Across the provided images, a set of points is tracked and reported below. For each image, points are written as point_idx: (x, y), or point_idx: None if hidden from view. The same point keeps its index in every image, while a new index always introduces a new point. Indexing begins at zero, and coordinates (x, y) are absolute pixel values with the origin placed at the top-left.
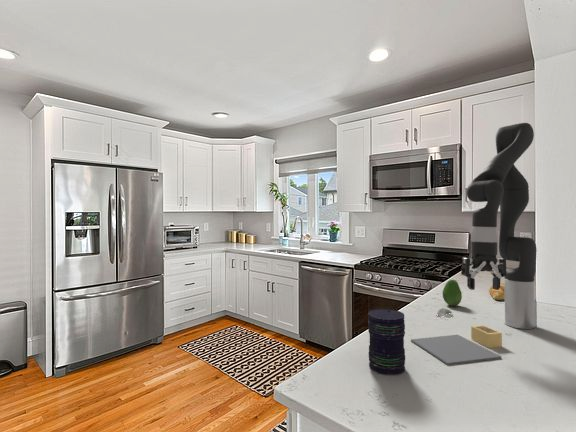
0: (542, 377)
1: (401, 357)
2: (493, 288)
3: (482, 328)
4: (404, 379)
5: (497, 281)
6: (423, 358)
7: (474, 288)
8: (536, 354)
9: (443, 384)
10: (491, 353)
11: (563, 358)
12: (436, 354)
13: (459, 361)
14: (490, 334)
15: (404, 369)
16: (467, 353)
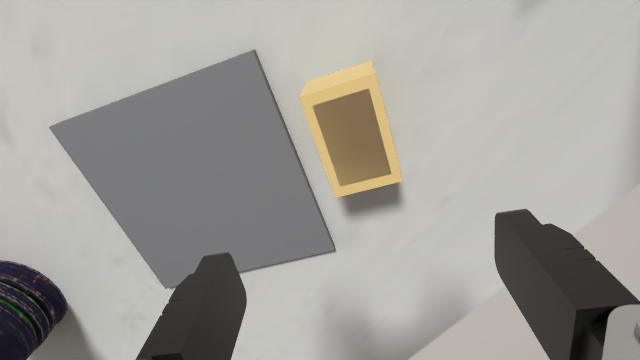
0: (378, 328)
1: (31, 353)
2: (496, 223)
3: (343, 126)
4: (71, 336)
5: (544, 349)
6: (106, 251)
7: (243, 311)
8: (474, 214)
9: None
10: (313, 232)
11: None
12: (140, 244)
13: None
14: (343, 195)
15: (63, 314)
16: (236, 235)
